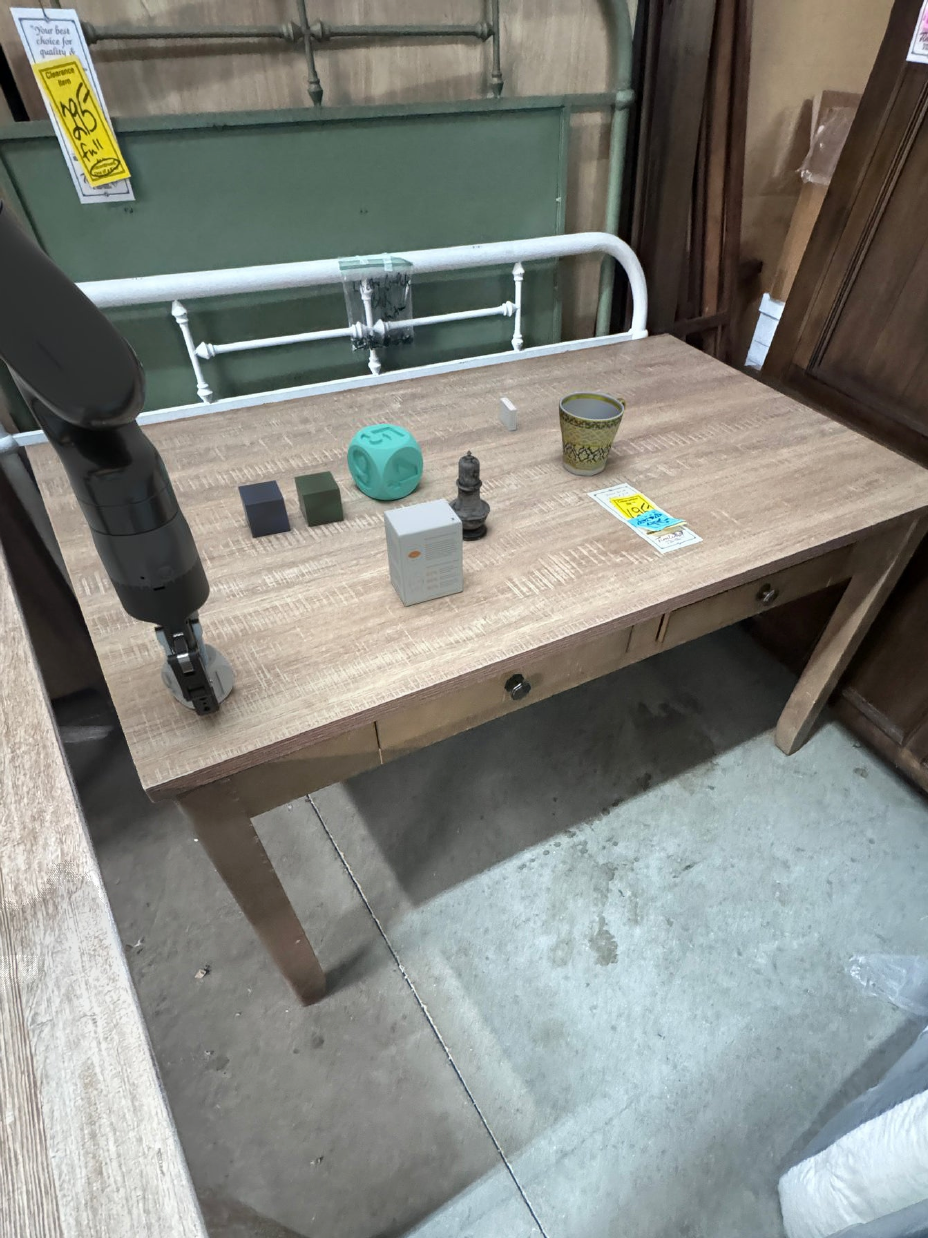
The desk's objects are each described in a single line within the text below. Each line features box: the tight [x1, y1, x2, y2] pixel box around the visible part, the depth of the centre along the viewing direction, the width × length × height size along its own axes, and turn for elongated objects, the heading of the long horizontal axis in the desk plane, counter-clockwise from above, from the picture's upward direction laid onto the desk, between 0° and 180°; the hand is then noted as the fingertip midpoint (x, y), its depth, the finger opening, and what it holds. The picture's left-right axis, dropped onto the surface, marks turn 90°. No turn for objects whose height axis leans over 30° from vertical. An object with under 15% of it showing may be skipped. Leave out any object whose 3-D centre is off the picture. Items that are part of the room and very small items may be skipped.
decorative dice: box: [346, 423, 424, 501], centre depth 101 cm, size 8×8×8 cm
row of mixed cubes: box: [237, 470, 345, 538], centre depth 92 cm, size 28×5×5 cm, turn 115°
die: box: [160, 643, 235, 710], centre depth 71 cm, size 5×5×5 cm
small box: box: [382, 498, 464, 607], centre depth 84 cm, size 8×6×10 cm
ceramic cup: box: [558, 391, 627, 477], centre depth 108 cm, size 13×10×10 cm
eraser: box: [498, 397, 518, 432], centre depth 119 cm, size 1×5×4 cm, turn 22°
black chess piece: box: [448, 449, 491, 542], centre depth 92 cm, size 6×6×12 cm
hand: (203, 686), depth 72 cm, fingers closed on die, 7 cm apart
